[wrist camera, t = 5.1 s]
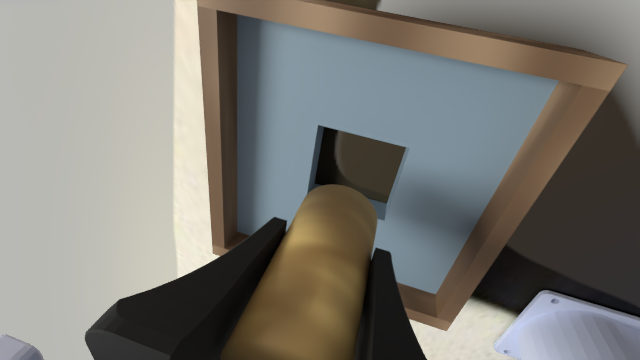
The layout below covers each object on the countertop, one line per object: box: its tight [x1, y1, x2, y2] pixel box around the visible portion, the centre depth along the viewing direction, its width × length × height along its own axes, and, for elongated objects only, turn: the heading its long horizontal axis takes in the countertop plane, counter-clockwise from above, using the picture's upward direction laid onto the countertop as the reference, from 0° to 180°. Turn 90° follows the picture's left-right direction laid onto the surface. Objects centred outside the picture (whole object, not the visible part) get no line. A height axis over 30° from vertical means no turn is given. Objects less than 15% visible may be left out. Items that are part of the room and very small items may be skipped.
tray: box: [197, 0, 627, 331], centre depth 19 cm, size 18×18×4 cm
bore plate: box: [237, 14, 559, 294], centre depth 20 cm, size 16×16×2 cm
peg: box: [220, 184, 378, 360], centre depth 12 cm, size 4×4×8 cm
